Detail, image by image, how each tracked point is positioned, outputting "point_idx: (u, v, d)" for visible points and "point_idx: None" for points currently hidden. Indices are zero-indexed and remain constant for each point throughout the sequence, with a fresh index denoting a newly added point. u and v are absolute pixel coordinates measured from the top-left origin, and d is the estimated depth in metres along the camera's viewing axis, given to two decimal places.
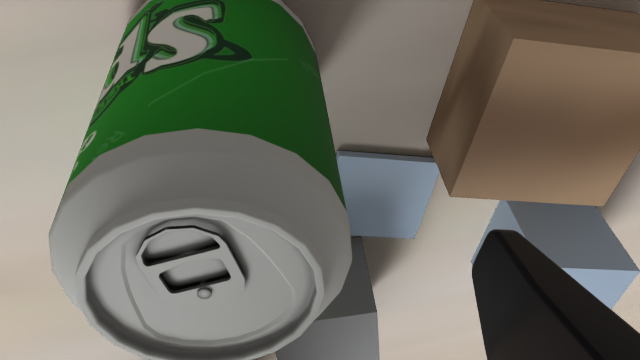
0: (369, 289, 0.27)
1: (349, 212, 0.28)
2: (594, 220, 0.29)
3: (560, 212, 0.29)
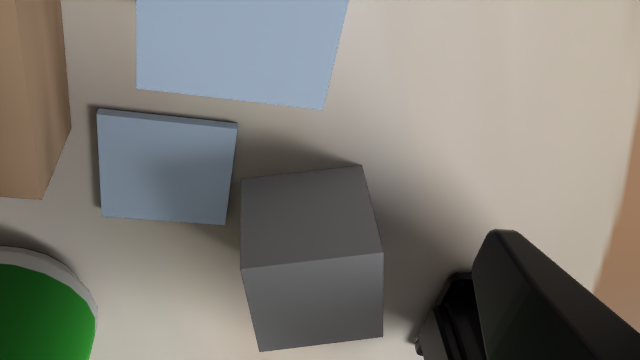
0: (241, 243, 0.21)
1: (188, 201, 0.24)
2: None
3: None
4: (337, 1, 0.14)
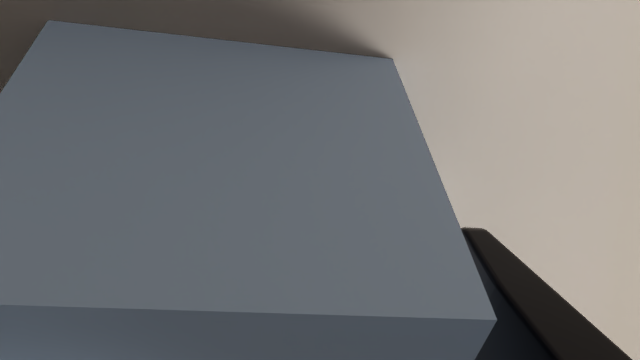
0: None
1: None
2: None
3: None
4: None
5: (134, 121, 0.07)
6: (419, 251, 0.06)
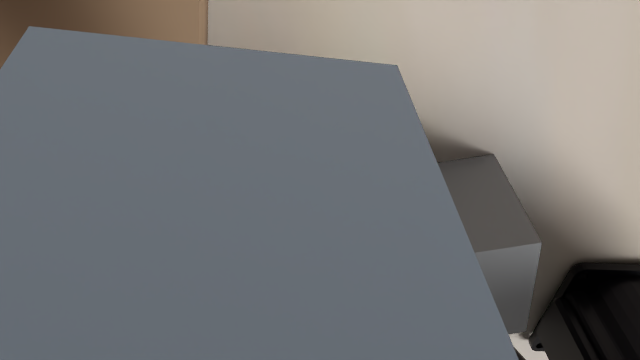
0: None
1: None
2: None
3: None
4: None
5: (119, 142, 0.06)
6: (434, 289, 0.05)
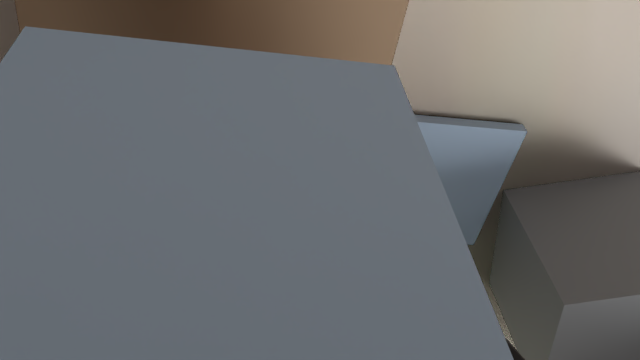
0: (544, 271, 0.17)
1: None
2: None
3: None
4: None
5: (113, 143, 0.06)
6: (429, 291, 0.05)
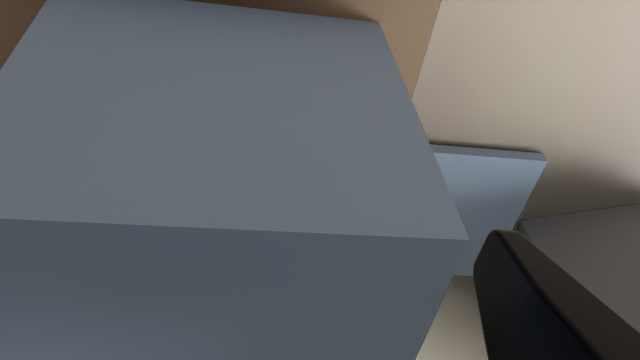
0: None
1: None
2: None
3: None
4: (397, 351, 0.07)
5: (138, 73, 0.07)
6: (400, 184, 0.06)
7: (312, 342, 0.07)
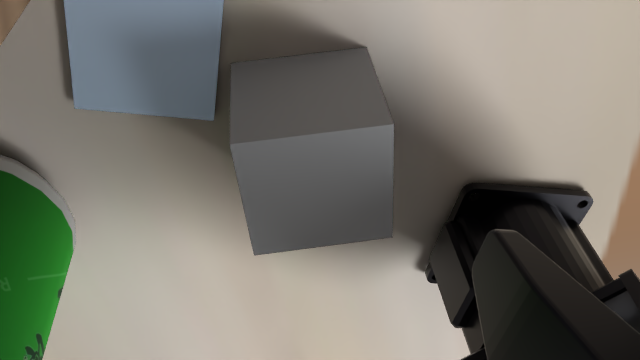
0: None
1: (172, 89, 0.21)
2: None
3: None
4: None
5: None
6: None
7: None
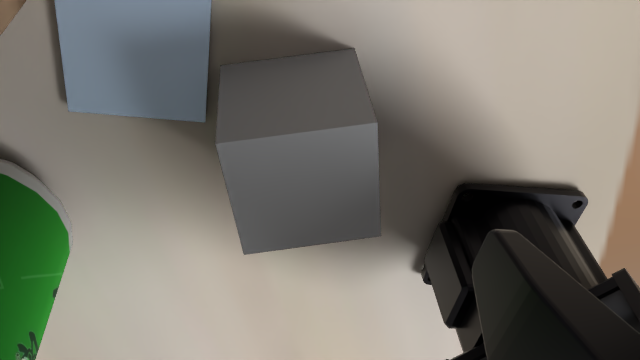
0: None
1: (163, 91, 0.21)
2: None
3: None
4: None
5: None
6: None
7: None
